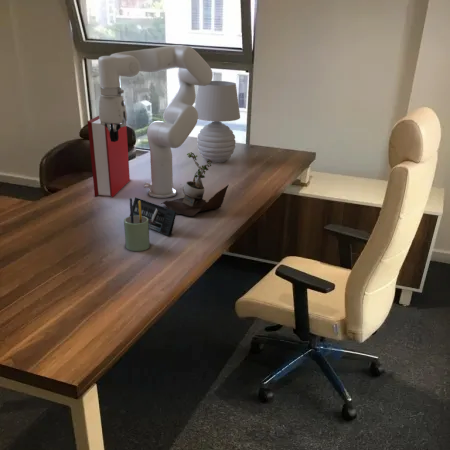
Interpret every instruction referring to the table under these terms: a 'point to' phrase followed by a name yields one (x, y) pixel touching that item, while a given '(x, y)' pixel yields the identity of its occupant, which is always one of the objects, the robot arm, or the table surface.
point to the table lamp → (217, 119)
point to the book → (108, 158)
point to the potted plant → (196, 195)
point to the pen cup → (136, 230)
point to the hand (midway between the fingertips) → (114, 141)
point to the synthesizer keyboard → (156, 216)
